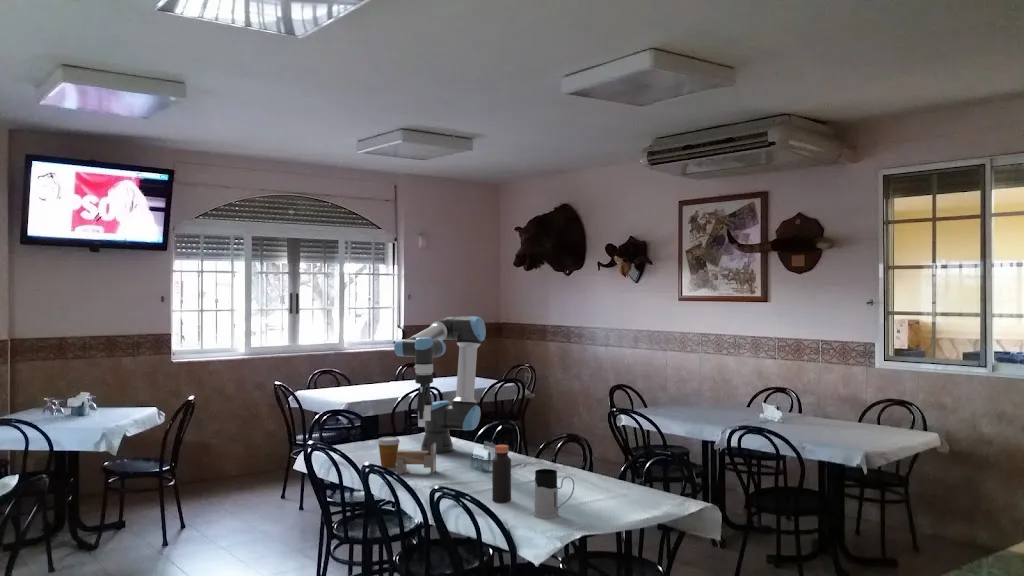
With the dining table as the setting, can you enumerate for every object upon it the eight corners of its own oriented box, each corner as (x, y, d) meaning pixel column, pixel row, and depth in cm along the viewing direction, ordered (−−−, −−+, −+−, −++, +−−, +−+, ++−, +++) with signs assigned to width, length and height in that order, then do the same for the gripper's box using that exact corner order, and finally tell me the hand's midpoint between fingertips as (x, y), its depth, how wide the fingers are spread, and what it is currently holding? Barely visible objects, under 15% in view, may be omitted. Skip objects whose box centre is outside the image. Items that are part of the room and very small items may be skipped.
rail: (398, 462, 330) (398, 450, 330) (428, 462, 330) (428, 450, 330) (396, 464, 327) (396, 452, 327) (427, 464, 326) (427, 452, 326)
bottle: (492, 498, 289) (492, 444, 289) (511, 498, 289) (511, 444, 289) (491, 503, 282) (491, 447, 282) (510, 503, 282) (510, 447, 282)
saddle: (399, 470, 332) (399, 455, 332) (406, 470, 332) (406, 455, 332) (396, 474, 325) (396, 459, 325) (403, 474, 325) (403, 459, 325)
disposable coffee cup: (373, 467, 338) (373, 439, 338) (385, 462, 347) (385, 435, 347) (392, 469, 335) (392, 441, 335) (403, 464, 344) (403, 437, 344)
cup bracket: (426, 470, 332) (426, 442, 332) (435, 470, 332) (436, 442, 332) (423, 475, 324) (423, 446, 324) (433, 475, 324) (433, 446, 324)
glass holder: (536, 510, 273) (537, 467, 273) (576, 514, 268) (576, 470, 268) (530, 517, 264) (530, 473, 264) (571, 521, 260) (571, 476, 260)
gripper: (420, 370, 345) (421, 418, 345) (409, 377, 320) (409, 429, 320) (437, 370, 344) (438, 418, 345) (427, 377, 319) (428, 429, 320)
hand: (424, 423), depth 332 cm, fingers open, 13 cm apart
